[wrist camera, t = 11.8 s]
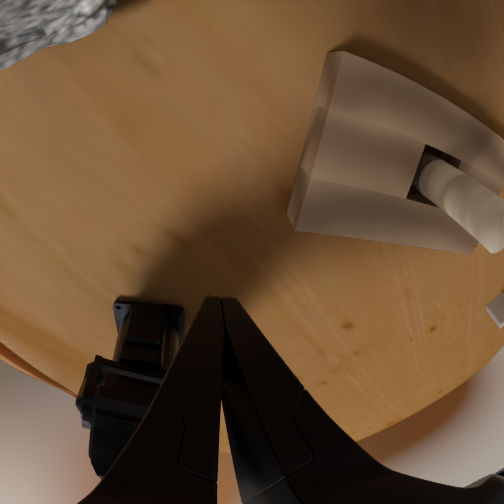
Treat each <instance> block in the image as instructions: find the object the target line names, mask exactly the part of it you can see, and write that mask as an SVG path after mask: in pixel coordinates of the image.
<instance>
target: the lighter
mask: <svg viewBox="0 0 504 504" xmlns="http://www.w3.org/2000/svg"><path fill="white" fill-rule="evenodd" d="M487 312H488V313H489V315H490V316H491V317H492V319H493V320H494V321H495V323H496V324H497V325H498V327H499V328H501V327H502V326H504V292H502V293H501V294H500V295H499V296H498V297H497V298H496V299H494V300H493V301H492V302H491V303H490V304H489V305H488V306H487Z"/></svg>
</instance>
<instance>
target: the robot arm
mask: <svg viewBox="0 0 504 504" xmlns="http://www.w3.org/2000/svg"><path fill="white" fill-rule="evenodd" d="M117 305H118V306H117ZM113 309H114V315H115V320H116V326H117V331H118V337H117V342H116V346H115V351H114V356H113V360H109V359H106V358H102V356H99V355H96V357H95V360H94V362H92V363H90V364H87V368H86V372H85V376H84V380H83V383H82V385H81V388H80V391H79V393H78V396H77V398H76V407H77V408H78V410H79V411H80V413H81V418H82V427H83V428H86V429H89V430H91V431H90V441H89V457H90V459H91V463H92V465H93V468H94V470H95V472H96V474H97V476H99V477H100V478H101V481H100V483H99V484H98V485H97V486H96V487H95V488H94V489H93V491H92V492H91V493H89V494H88V495H87V496H86V497H85V498H84V499H82V500H81V501H80V502H79V503H77V504H217V483H216V482H217V476H218V452H219V430H220V411H221V400H222V406H223V411H224V417H225V423H226V428H227V434H228V439H229V444H230V449H231V454H232V459H233V464H234V469H235V474H236V479H237V483H238V488H239V492H240V497H241V501H242V503H243V504H504V468H503V469H501V470H500V471H498V472H496V473H495V474H490V475H488V476H486V477H484V478H482V479H480V480H478V481H476V482H474V483H472V484H470V485H468V486H466V487H464V488H461V487H454V486H450V485H445V484H440V483H436V482H432V481H428V480H424V479H420V478H416V477H412V476H409V475H406V474H402V473H399V472H396V471H393V470H391V469H389V468H387V467H385V466H384V465H382V464H381V463H379V462H378V461H376V460H375V459H374V458H373V457H372V456H371V455H369V454H368V453H367V452H366V451H365V450H364V449H363V448H362V447H361V446H359V445H358V444H357V443H356V442H355V441H354V440H353V439H352V438H351V437H350V436H349V435H348V434H347V433H345V432H344V431H343V430H342V429H341V428H340V427H339V426H338V425H337V424H336V423H335V422H334V421H333V420H332V419H331V418H330V417H329V416H328V415H327V414H326V412H325V411H324V410H323V409H322V408H321V407H320V405H319V404H318V403H317V402H316V401H315V400H314V398H313V397H312V396H311V395H310V393H309V392H308V391H307V390H306V389H305V390H304V386H303V385H302V384H301V382H300V381H299V380H298V379H297V377H296V376H295V375H294V373H293V372H292V371H291V370H290V368H289V367H288V366H287V365H286V363H285V362H284V361H283V359H282V358H281V357H280V356H279V354H278V353H277V352H276V350H275V349H274V348H273V346H272V345H271V344H270V342H269V341H268V340H267V339H266V337H265V336H264V335H263V333H262V332H261V331H260V329H259V328H258V327H257V325H256V324H255V323H254V321H253V320H252V319H251V317H250V316H249V315H248V313H247V312H246V311H245V309H244V308H243V307H242V305H241V304H240V302H239V301H238V300H237V299H236V298H234V297H222V298H221V299H220V297H219V296H205V297H204V299H203V301H202V303H201V305H200V307H199V309H198V311H197V313H196V315H195V317H194V319H193V321H192V323H191V325H190V327H189V329H188V331H187V333H186V335H185V337H184V339H183V329H184V308H183V307H181V306H172V305H160V304H149V303H139V302H129V301H120V300H116V301H115V302H114V304H113ZM177 311H180V312H177Z"/></svg>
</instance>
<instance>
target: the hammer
mask: <svg viewBox="0 0 504 504" xmlns="http://www.w3.org/2000/svg"><path fill="white" fill-rule="evenodd" d="M116 4H117V1H116V0H0V69H5V68H7V67H9V66H11V65H13V64H15V63H17V62H19V61H21V60H23V59H25V58H27V57H29V56H31V55H33V54H35V53H36V52H38V51H40V50H42V49H43V48H45V47H48V46H54V45H59V44H66V43H69V42H72V41H74V40H77V39H80V38H82V37H85V36H88V35H90V34H92V33H93V32H95V31H96V30H97V29H99V28H100V27H102V26H103V25H104V24H106V23H107V21H108V19H109V17H110V15H111V13H112V12H113V10H114V8H115V6H116Z"/></svg>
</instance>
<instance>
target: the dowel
mask: <svg viewBox="0 0 504 504" xmlns="http://www.w3.org/2000/svg"><path fill="white" fill-rule="evenodd" d="M412 186H413V187H414V188H415V189H416V190H418V191H419V192H420V193H421V194H422V195H423V196H424V197H426V198H428V199H429V200H431V201H432V202H433V203H434V204H436V205H437V206H438V207H439V208H441V209H442V210H443V211H444V212H446V213H447V214H448V215H449V216H450V217H452V218H453V219H454V220H455V221H456V222H457V223H459V224H460V225H461V226H462V227H463V228H464V229H465V230H467V231H468V232H469V233H470V234H471V235H472V236H473V237H474V238H475V239H476V240H478V241H479V242H480V243H481V244H482V245H483V246H484V247H485V248H486V249H487V250H488V251H489V252H490V253H497V252H499V251H500V250H502V249H503V248H504V199H502V198H501V197H500V196H498V195H497V194H495V193H494V192H493V191H491V190H490V189H488V188H487V187H485V186H484V185H482V184H481V183H479V182H478V181H476V180H475V179H473V178H471V177H470V176H468V175H467V174H465V173H463V172H462V171H460V170H458V169H457V168H455V167H453V166H452V165H450V164H448V163H447V162H446V161H444V160H442V159H441V158H438V157H436V156H434V155H432V154H423V153H422V156H421V159H420V162H419V165H418V167H417V170H416V173H415V176H414V178H413V181H412Z"/></svg>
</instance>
